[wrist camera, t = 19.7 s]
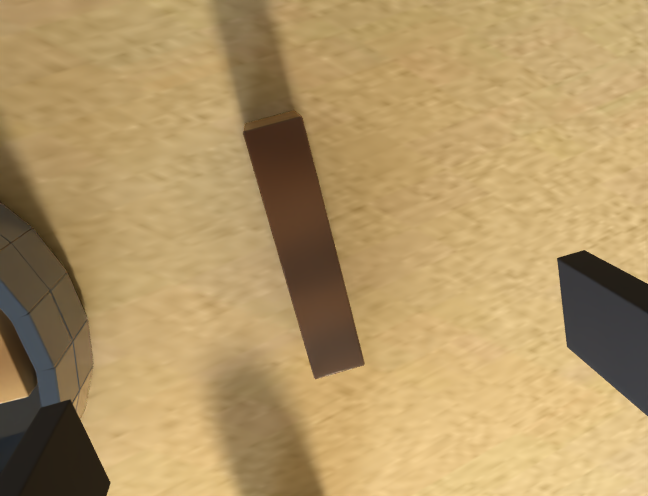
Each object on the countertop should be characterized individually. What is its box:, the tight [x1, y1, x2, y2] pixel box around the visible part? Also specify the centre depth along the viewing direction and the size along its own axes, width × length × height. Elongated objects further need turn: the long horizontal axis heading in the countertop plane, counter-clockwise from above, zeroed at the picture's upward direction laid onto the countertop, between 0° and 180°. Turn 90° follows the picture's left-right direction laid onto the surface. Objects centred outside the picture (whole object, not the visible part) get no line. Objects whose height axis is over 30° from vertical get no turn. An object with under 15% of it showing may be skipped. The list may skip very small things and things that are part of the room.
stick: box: [243, 110, 365, 379], centre depth 26 cm, size 12×2×4 cm, turn 14°
